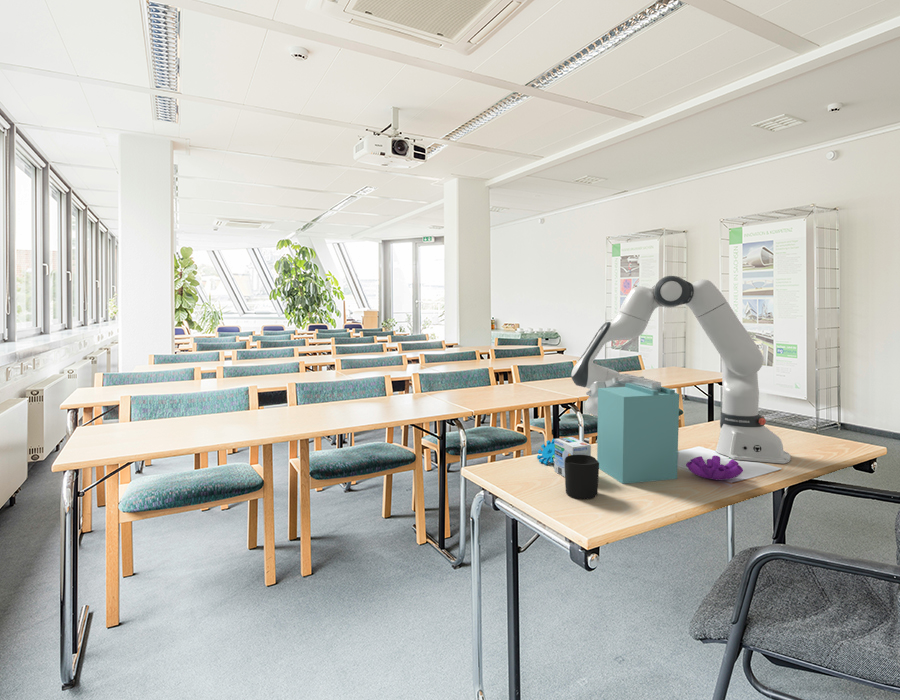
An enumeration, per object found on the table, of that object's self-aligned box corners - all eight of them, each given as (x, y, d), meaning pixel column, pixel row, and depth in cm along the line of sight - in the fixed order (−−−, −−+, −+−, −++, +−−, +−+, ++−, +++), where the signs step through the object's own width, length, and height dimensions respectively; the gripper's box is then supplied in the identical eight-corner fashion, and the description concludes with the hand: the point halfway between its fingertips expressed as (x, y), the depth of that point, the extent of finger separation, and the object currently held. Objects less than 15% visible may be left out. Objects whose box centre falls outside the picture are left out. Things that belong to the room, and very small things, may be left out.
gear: (531, 454, 181) (550, 433, 182) (540, 464, 183) (560, 443, 184) (547, 468, 171) (567, 445, 172) (557, 478, 173) (577, 456, 174)
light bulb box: (553, 471, 168) (553, 438, 167) (571, 468, 170) (571, 436, 169) (572, 482, 158) (572, 446, 157) (591, 479, 160) (591, 444, 159)
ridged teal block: (597, 467, 171) (598, 384, 169) (647, 463, 175) (649, 381, 172) (622, 483, 156) (623, 392, 153) (677, 478, 159) (679, 389, 157)
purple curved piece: (693, 482, 166) (703, 454, 169) (744, 495, 154) (753, 465, 157) (679, 466, 160) (689, 438, 163) (730, 479, 148) (740, 448, 151)
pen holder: (604, 493, 149) (605, 458, 148) (588, 503, 142) (589, 466, 141) (574, 485, 155) (574, 452, 154) (558, 494, 148) (558, 460, 147)
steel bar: (618, 382, 179) (618, 374, 179) (626, 382, 180) (626, 373, 179) (651, 392, 159) (652, 382, 159) (660, 392, 160) (661, 382, 160)
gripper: (582, 386, 186) (598, 371, 174) (635, 384, 190) (654, 369, 178) (586, 403, 184) (602, 389, 171) (639, 400, 188) (659, 386, 175)
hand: (629, 379), depth 175 cm, fingers open, 8 cm apart
